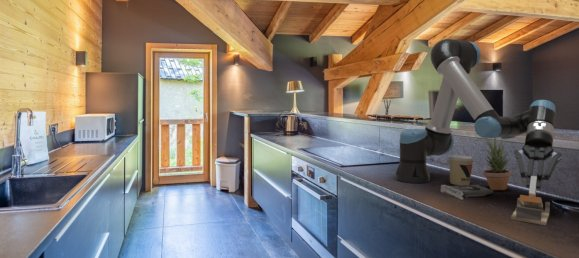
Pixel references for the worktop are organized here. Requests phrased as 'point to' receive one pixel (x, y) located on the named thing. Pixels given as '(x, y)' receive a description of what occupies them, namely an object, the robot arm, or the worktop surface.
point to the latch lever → (531, 202)
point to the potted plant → (497, 167)
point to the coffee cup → (460, 169)
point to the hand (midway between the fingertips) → (532, 195)
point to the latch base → (531, 214)
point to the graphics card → (465, 191)
